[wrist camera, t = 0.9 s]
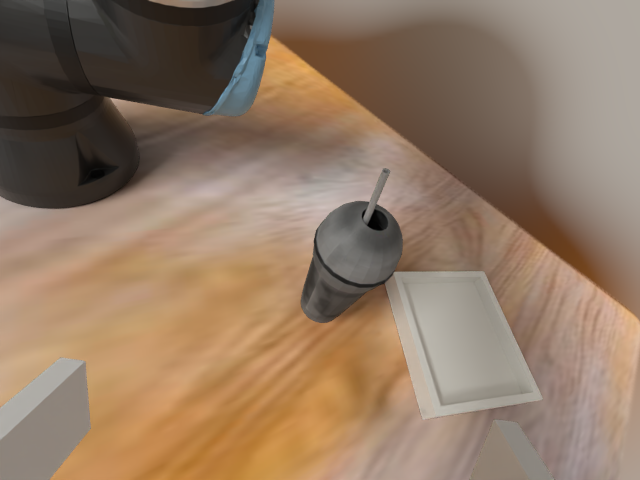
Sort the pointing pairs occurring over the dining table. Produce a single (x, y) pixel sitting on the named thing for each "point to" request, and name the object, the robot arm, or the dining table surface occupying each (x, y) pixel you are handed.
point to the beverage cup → (351, 256)
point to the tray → (458, 343)
